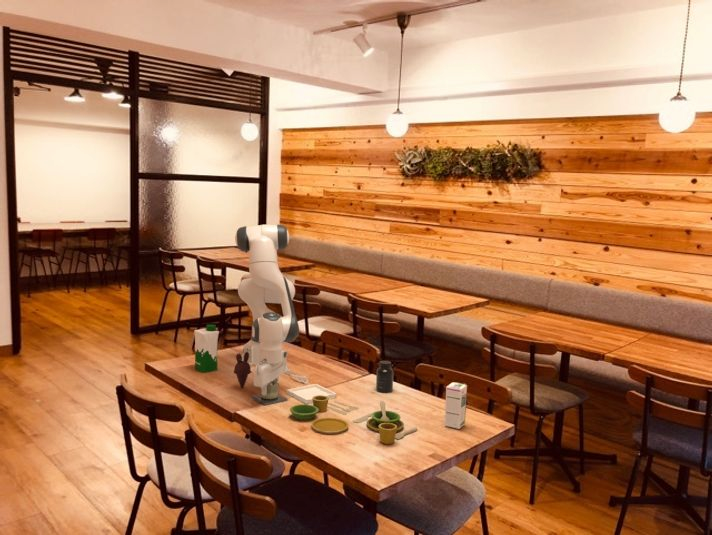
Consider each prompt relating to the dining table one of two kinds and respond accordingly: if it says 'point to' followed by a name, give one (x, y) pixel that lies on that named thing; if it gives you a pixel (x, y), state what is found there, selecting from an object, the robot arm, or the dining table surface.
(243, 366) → the icecream
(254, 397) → the stand
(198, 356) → the milk carton
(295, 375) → the stirrer
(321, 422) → the tableware set
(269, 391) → the napkin ring
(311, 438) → the dining table surface
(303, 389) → the tray
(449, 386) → the syrup box
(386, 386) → the supplement bottle
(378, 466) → the dining table surface
